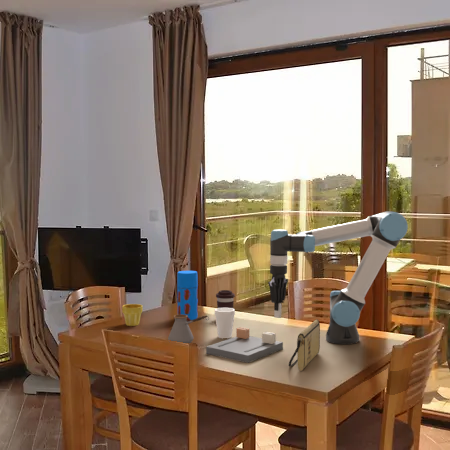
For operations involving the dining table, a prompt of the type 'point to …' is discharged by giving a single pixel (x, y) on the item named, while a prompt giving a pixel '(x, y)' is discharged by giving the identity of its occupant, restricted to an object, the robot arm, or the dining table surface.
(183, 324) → the coffee pot
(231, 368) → the dining table surface
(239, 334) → the fader
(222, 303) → the coffee cup
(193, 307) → the thermos
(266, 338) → the fader
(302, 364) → the clutch purse
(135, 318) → the plant pot
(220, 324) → the foam cup
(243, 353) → the slider panel
